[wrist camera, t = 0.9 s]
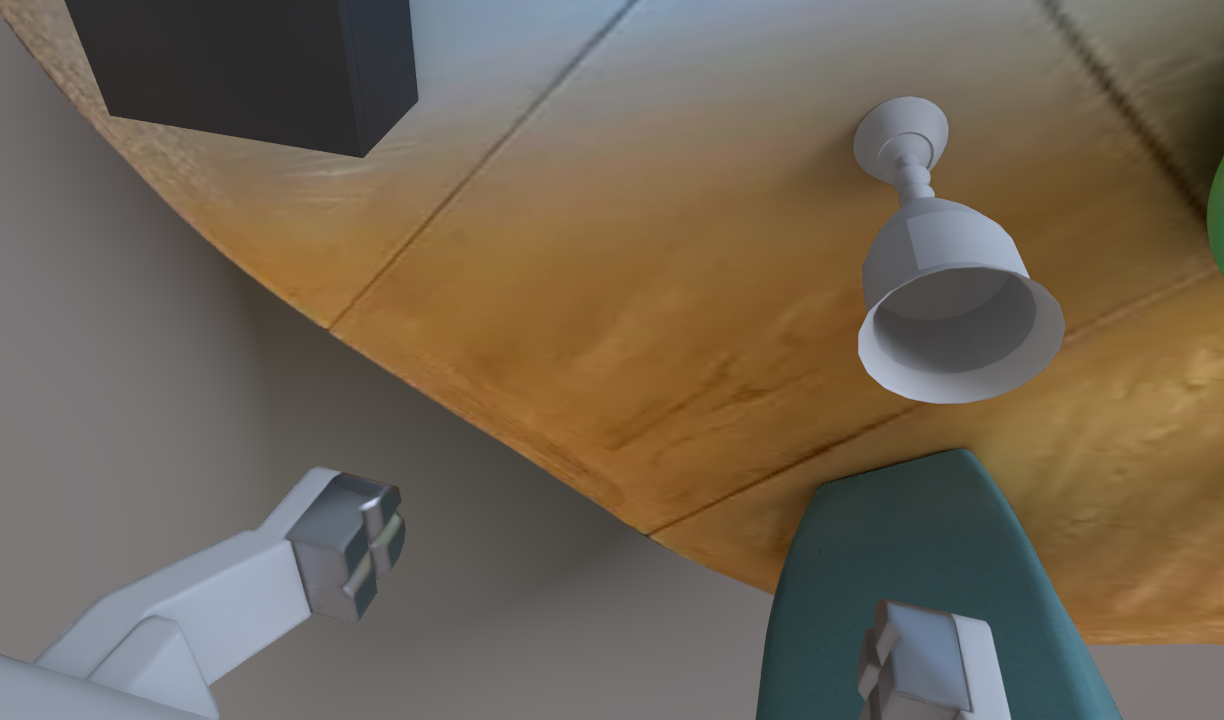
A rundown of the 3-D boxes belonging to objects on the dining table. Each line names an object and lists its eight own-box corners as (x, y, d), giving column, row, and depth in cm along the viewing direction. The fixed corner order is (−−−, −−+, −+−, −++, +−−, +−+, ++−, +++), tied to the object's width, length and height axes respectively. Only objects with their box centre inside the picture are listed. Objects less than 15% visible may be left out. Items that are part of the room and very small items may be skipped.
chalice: (824, 191, 44) (843, 395, 30) (843, 78, 39) (875, 260, 26) (952, 197, 42) (1029, 412, 29) (986, 81, 38) (1097, 273, 25)
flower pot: (749, 466, 61) (733, 850, 40) (999, 392, 51) (1149, 848, 30) (847, 590, 70) (875, 954, 50) (1075, 547, 61) (1229, 978, 40)
